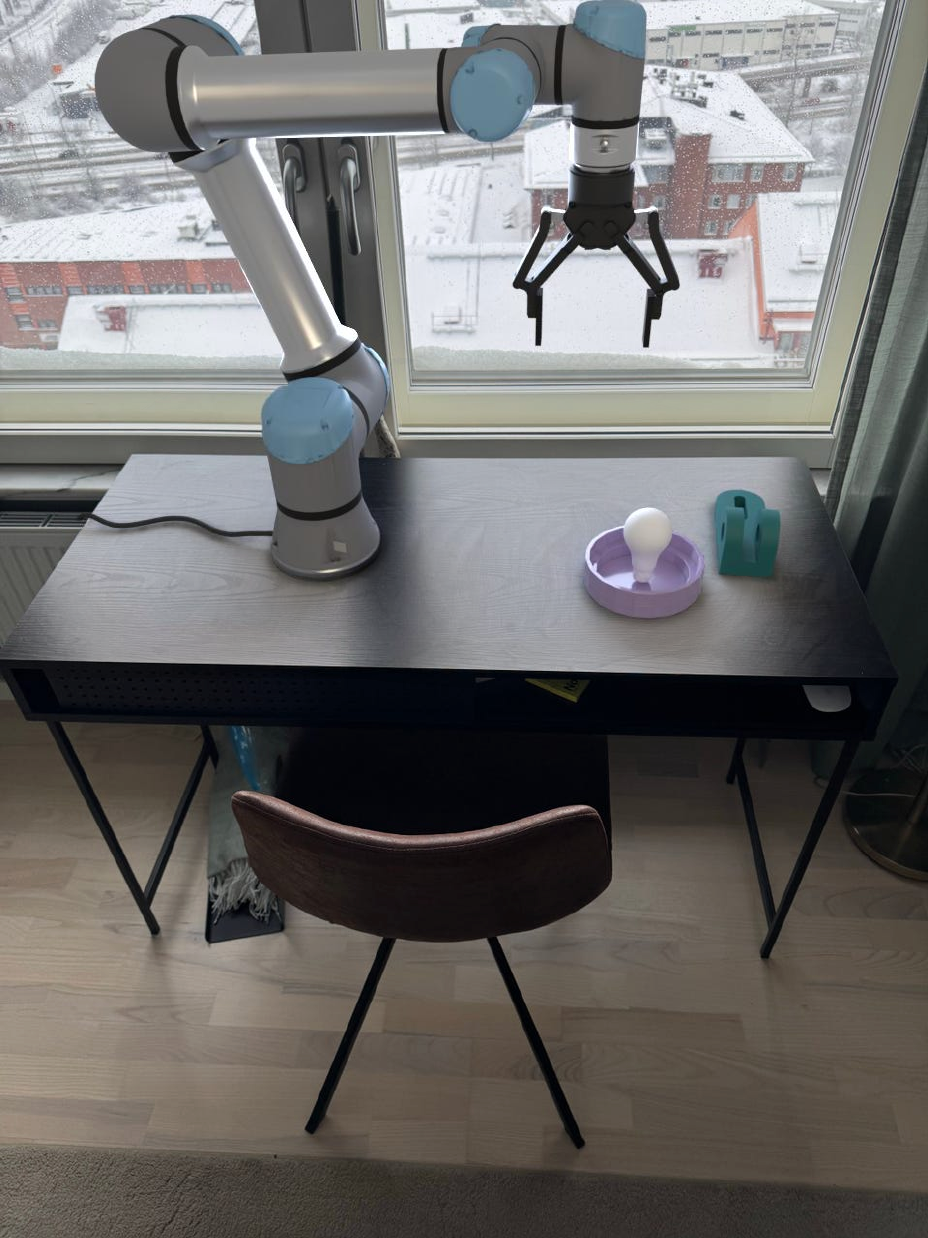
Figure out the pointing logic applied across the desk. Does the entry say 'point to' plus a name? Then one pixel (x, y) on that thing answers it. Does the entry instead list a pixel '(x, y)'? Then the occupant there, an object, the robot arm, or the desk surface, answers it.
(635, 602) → the bowl
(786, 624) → the desk surface
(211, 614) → the desk surface
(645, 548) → the lightbulb
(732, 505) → the bracket
